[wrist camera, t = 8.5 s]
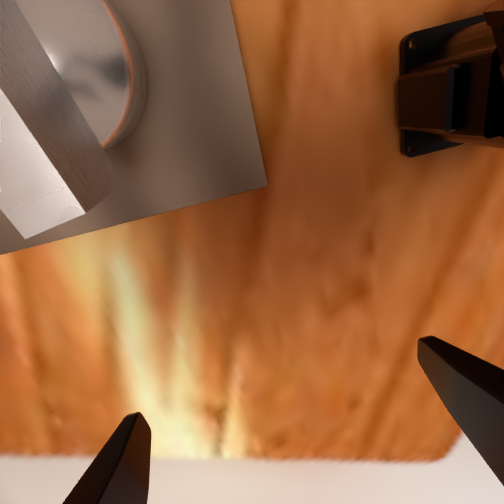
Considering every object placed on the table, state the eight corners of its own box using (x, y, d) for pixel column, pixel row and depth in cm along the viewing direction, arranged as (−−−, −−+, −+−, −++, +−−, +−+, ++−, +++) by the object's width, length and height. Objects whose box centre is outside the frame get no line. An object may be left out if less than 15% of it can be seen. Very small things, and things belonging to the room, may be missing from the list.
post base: (188, -180, 12) (184, -222, 11) (264, 180, 19) (268, 186, 17) (-196, -83, 12) (-255, -112, 11) (16, 244, 19) (-2, 256, 17)
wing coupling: (187, 148, 16) (164, 179, 8) (69, 200, 16) (-49, 270, 9) (41, -164, 11) (-314, -729, 4) (-124, -78, 11) (-744, -425, 4)
